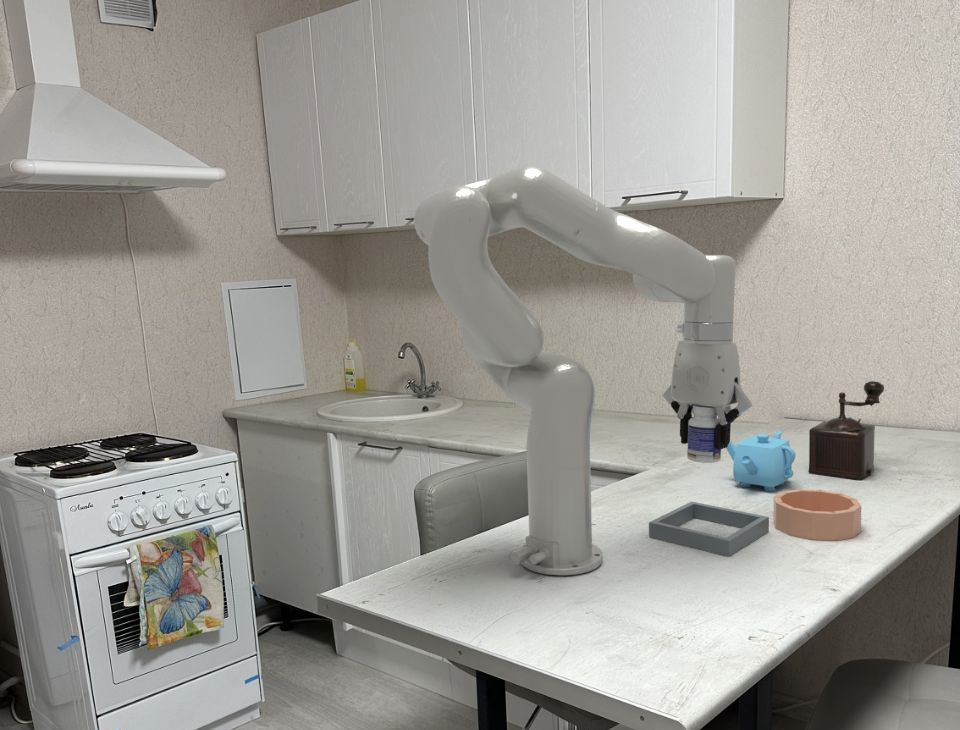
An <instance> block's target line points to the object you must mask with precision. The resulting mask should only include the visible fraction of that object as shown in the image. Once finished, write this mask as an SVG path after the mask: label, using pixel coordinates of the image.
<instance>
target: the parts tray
mask: <svg viewBox="0 0 960 730" xmlns="http://www.w3.org/2000/svg"><path fill="white" fill-rule="evenodd" d="M692 519H698V520H702V519H703V521H708V522H713V523H716V522H717V523H716V524H722V525H726V526H730V527H734V528H735V527H736V528H739V530H737V531H735V532H733V533H732V534H730V535H728V536H720V535H716V534H712V533H708V532H703V531H700V530H694V529H689V528H686V527H681V526H680V525H683V524H685V523H686V522H688V521H690V520H692ZM769 528H770V517H769V516H765V515H760V514H756V513H751V512H747V511H740V510H736V509H733V508H727V507H721V506H717V505H710V504H707V503H706V504H705V503H702V502H701V503H700V502H697V501H696V502H695V501H690V502H687V503H686V504H684V505H682V506H680V507H677V508H676V509H675V508H674V509H673V510H671V511H668V512H666V513H665V514H663V515H661V516H659V517H657V518H655V519H652V520H650V521H649V522H648V537H649V538H652V539H656V540H659V541H660V540H661V541H664V542H669V543H673V544H676V545H680V546H685V547H688V548H692V549H697V550H701V551H705V552H710V553H714V554H717V555H721V556H725V557H728V558H729V557H731V556H733V555H734V554H736V553H738V551H741V550H742V549H744V548H746V546H748V545H750V544H752V543H753V542H755V541H756V540H757V539H759V538H761V537H763V536H764V535H766V534H767V533H769V532H770V529H769Z"/></svg>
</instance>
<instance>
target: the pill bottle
mask: <svg viewBox="0 0 960 730" xmlns="http://www.w3.org/2000/svg"><path fill="white" fill-rule="evenodd" d="M692 415H693V416H692V417H693V418H691V419H690V420H689V422H688V443H687V448H686V449H687V450H686V451H687V452H686V453H687V454H686V457H687V460H689V461H692V462H696V463H703V464H711V463H713V464H715V463H718V462H720V461H721V456H722V449H721V450H718V449H716V448H715V428H716V425H717V424H719V419H718V415H717V412H716V408H715V407H711V406H703V405H695V404H694V405H693V413H692Z"/></svg>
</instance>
